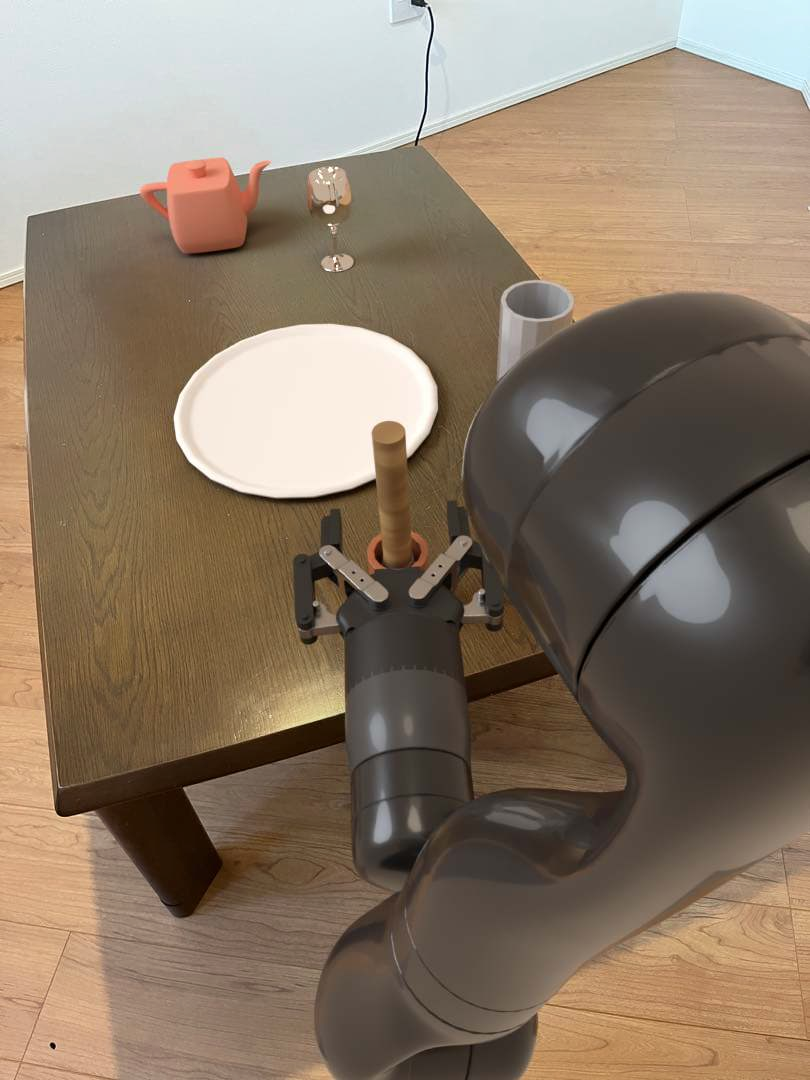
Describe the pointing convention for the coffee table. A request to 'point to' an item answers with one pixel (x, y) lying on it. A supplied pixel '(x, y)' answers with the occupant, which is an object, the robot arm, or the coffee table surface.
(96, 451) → the coffee table surface
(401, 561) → the light brown wooden rod
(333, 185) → the wineglass
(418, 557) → the holder
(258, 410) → the plate
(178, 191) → the teapot
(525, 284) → the grey faceted cup
